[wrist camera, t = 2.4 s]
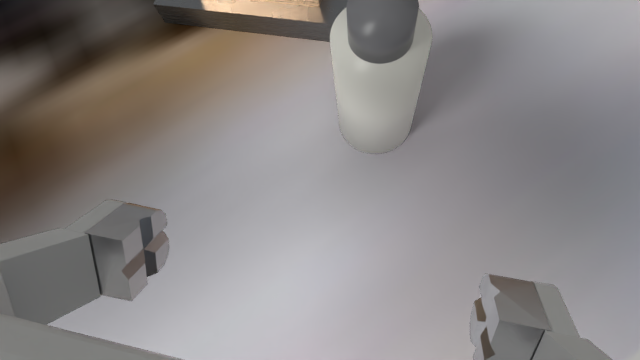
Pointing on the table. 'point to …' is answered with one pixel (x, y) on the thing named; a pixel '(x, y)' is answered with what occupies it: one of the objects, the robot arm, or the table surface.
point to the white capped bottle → (378, 70)
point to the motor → (257, 15)
